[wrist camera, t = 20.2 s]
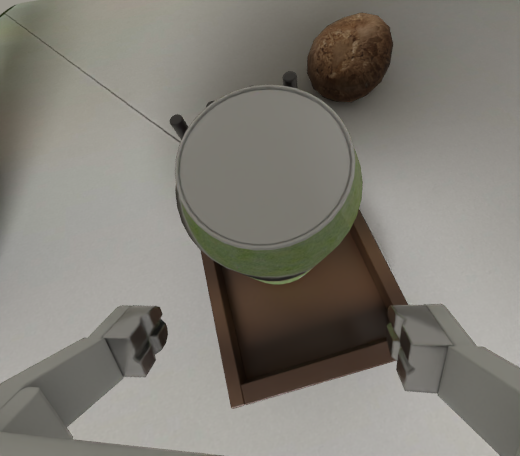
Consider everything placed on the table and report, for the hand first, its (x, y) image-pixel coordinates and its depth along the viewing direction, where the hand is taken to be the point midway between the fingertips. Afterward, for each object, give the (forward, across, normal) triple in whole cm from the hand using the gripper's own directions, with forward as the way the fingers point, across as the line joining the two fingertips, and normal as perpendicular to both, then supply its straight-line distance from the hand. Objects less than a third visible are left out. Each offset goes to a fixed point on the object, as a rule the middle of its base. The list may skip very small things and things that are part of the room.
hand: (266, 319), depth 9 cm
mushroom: (+26, -7, -9) cm, 28 cm away
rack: (+12, 0, +5) cm, 13 cm away
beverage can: (+9, 0, +2) cm, 9 cm away
